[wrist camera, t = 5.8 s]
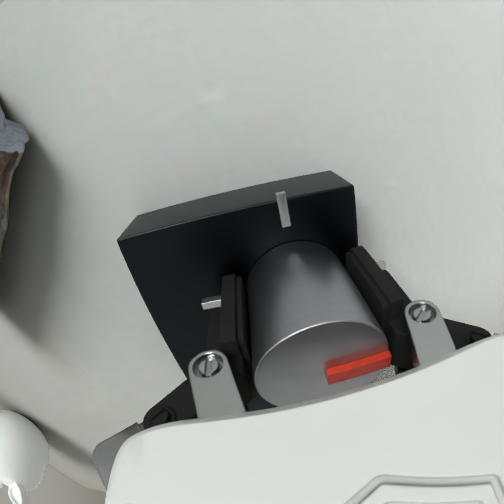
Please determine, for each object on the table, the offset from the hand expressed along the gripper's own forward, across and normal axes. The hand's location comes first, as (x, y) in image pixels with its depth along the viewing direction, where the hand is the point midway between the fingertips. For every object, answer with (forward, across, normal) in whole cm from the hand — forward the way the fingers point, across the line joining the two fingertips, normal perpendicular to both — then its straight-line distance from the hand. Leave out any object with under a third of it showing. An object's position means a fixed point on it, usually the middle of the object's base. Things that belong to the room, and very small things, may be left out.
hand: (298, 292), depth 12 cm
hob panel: (+4, +2, +3) cm, 5 cm away
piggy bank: (+4, +40, +18) cm, 44 cm away
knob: (0, 0, 0) cm, 0 cm away
